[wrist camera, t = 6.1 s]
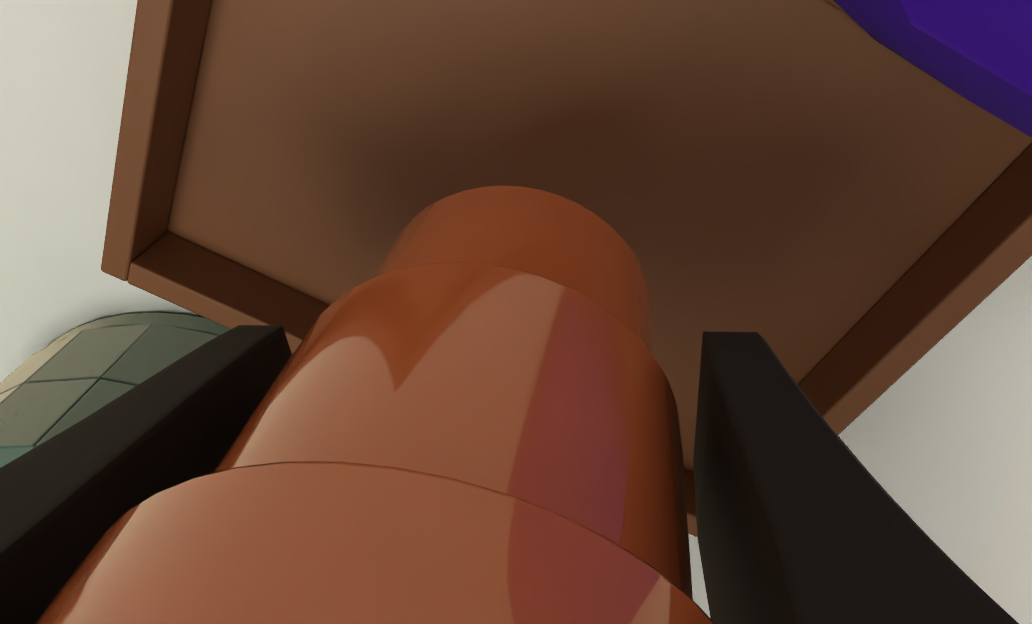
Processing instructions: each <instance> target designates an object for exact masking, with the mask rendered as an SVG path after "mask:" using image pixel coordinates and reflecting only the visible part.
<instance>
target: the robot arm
mask: <svg viewBox="0 0 1032 624" xmlns="http://www.w3.org/2000/svg"><path fill="white" fill-rule="evenodd" d="M291 356H292V353H291V350H290V347H289V344H288V340H287V337H286V334H285V331H284V328H283V326H273V325H238V326H236V327H234V328H232V329H230V330H228V331H227V332H225V333H223V334H221V335H219V336H217V337H215V338H214V339H212V340H210V341H208V342H207V343H205V344H203V345H202V346H200V347H198V348H197V349H195V350H193V351H192V352H190V353H188V354H187V355H185V356H183V357H182V358H180V359H179V360H177V361H175V362H174V363H172V364H171V365H169V366H167V367H166V368H164V369H163V370H161V371H159V372H158V373H156V374H155V375H153V376H151V377H150V378H148V379H147V380H145V381H143V382H142V383H140V384H139V385H137V386H135V387H134V388H132V389H131V390H129V391H127V392H126V393H124V394H123V395H121V396H119V397H118V398H116V399H115V400H113V401H111V402H110V403H108V404H107V405H105V406H103V407H102V408H100V409H99V410H97V411H95V412H94V413H92V414H91V415H89V416H87V417H86V418H84V419H83V420H81V421H79V422H78V423H76V424H74V425H73V426H71V427H69V428H68V429H66V430H64V431H62V432H61V433H59V434H57V435H56V436H54V437H52V438H50V439H49V440H47V441H45V442H44V443H42V444H40V445H39V446H37V447H35V448H33V449H32V450H30V451H28V452H27V453H25V454H23V455H21V456H20V457H18V458H16V459H15V460H13V461H11V462H9V463H8V464H6V465H4V466H3V467H1V468H0V624H35V623H36V622H37V620H38V619H39V618H40V616H41V615H42V614H43V612H44V611H45V610H46V609H47V607H48V606H49V605H50V603H51V602H52V601H53V599H54V598H55V597H56V596H57V594H58V593H59V592H60V590H61V589H62V588H63V586H64V585H65V584H66V583H67V581H68V580H69V579H70V577H71V576H72V575H73V573H74V572H75V571H76V569H77V568H78V567H79V566H80V564H81V563H82V562H83V560H84V559H85V558H86V556H87V555H88V554H89V553H90V551H91V550H92V549H93V547H94V546H95V545H96V543H97V542H98V541H99V540H100V538H101V537H102V536H103V534H104V533H105V532H106V531H107V530H108V529H109V528H110V527H111V526H112V525H113V524H114V523H115V522H116V521H117V520H118V519H119V518H121V517H122V516H123V515H124V514H125V513H126V512H127V511H129V510H130V509H132V508H134V507H135V506H137V505H138V504H140V503H142V502H143V501H145V500H147V499H148V498H150V497H151V496H153V495H155V494H156V493H158V492H160V491H162V490H164V489H167V488H169V487H172V486H174V485H177V484H179V483H182V482H184V481H187V480H189V479H192V478H195V477H197V476H202V475H206V474H210V473H213V472H214V471H215V469H216V468H217V466H218V465H219V463H220V462H221V460H222V459H223V457H224V456H225V454H226V453H227V451H228V450H229V448H230V447H231V445H232V444H233V442H234V441H235V439H236V438H237V436H238V435H239V433H240V432H241V430H242V429H243V427H244V426H245V424H246V423H247V421H248V420H249V418H250V417H251V415H252V414H253V412H254V411H255V409H256V408H257V406H258V405H259V403H260V402H261V400H262V399H263V397H264V396H265V394H266V393H267V391H268V390H269V388H270V387H271V385H272V384H273V382H274V381H275V379H276V378H277V376H278V375H279V373H280V372H281V370H282V369H283V368H284V366H285V365H286V363H287V362H288V360H289V359H290V357H291ZM693 464H694V484H695V504H696V521H697V537H698V543H699V550H700V556H701V562H702V568H703V574H704V580H705V586H706V593H707V599H708V605H709V611H710V617H711V620H712V621H713V622H714V623H715V624H1019V623H1017V622H1016V621H1015V620H1014V619H1013V618H1012V617H1011V616H1010V615H1009V614H1008V613H1007V612H1006V611H1005V610H1003V609H1002V608H1001V607H1000V606H999V605H998V604H997V603H996V602H995V601H994V600H993V599H992V598H990V597H989V596H988V595H987V594H986V593H985V592H984V591H983V590H982V589H981V588H980V587H979V586H978V585H977V584H976V583H975V582H974V581H973V580H971V579H970V578H969V577H968V576H967V575H966V574H965V573H964V572H963V571H962V570H961V569H960V568H959V567H958V566H957V565H956V564H955V563H954V562H953V561H952V560H951V559H950V558H949V557H948V556H947V555H946V554H945V553H944V552H943V551H942V550H941V549H940V548H939V547H938V546H937V545H936V544H935V543H934V542H933V541H932V540H931V539H930V538H929V537H928V536H927V535H926V533H925V532H924V531H923V530H922V529H921V528H920V527H919V526H918V525H917V524H916V523H915V522H914V521H913V520H912V519H911V518H910V517H909V516H908V514H907V513H906V512H905V511H904V510H903V509H902V508H901V507H900V506H899V505H898V504H897V503H896V502H895V501H894V500H893V499H892V497H891V496H890V495H889V494H888V493H887V492H886V491H885V490H884V489H883V487H882V486H881V485H880V484H879V483H878V482H877V481H876V480H875V479H874V477H873V476H872V475H871V474H870V473H869V472H868V471H867V469H866V468H865V467H864V466H863V465H862V464H861V462H860V461H859V460H858V459H857V458H856V456H855V455H854V454H853V453H852V452H851V451H850V449H849V448H848V447H847V446H846V445H845V443H844V442H843V441H842V440H841V439H840V438H839V436H838V435H837V434H836V433H835V432H834V430H833V429H832V428H831V427H830V426H829V424H828V423H827V422H826V421H825V419H824V418H823V417H822V416H821V414H820V413H819V412H818V411H817V409H816V408H815V407H814V405H813V404H812V403H811V402H810V400H809V399H808V398H807V396H806V395H805V394H804V392H803V391H802V390H801V389H800V387H799V386H798V385H797V383H796V382H795V381H794V379H793V378H792V377H791V375H790V374H789V372H788V371H787V370H786V368H785V367H784V366H783V364H782V363H781V361H780V360H779V359H778V357H777V356H776V354H775V353H774V352H773V350H772V349H771V347H770V346H769V344H768V343H767V341H766V340H765V339H764V338H763V337H762V336H761V335H760V334H759V333H758V332H712V331H703V335H702V348H701V362H700V375H699V389H698V402H697V415H696V429H695V442H694V455H693Z"/></svg>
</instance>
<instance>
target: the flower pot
mask: <svg viewBox="0 0 1032 624" xmlns="http://www.w3.org/2000/svg"><path fill="white" fill-rule="evenodd" d="M35 624H715V623H714V622H713V621H712V620H711V619H710V618H709V617H708V616H707V615H706V613H705V612H704V611H703V610H702V609H701V608H700V607H699V606H698V605H697V604H696V603H695V602H694V601H693V597H692V582H691V567H690V553H689V538H688V523H687V508H686V493H685V479H684V464H683V449H682V434H681V421H680V416H679V411H678V406H677V402H676V399H675V396H674V394H673V391H672V388H671V386H670V383H669V381H668V379H667V377H666V375H665V374H664V372H663V370H662V369H661V367H660V365H659V363H658V362H657V360H656V358H655V357H654V356H653V355H652V324H651V299H650V294H649V289H648V284H647V281H646V278H645V276H644V273H643V270H642V268H641V266H640V264H639V262H638V260H637V258H636V257H635V255H634V253H633V251H632V250H631V249H630V248H629V246H628V245H627V244H626V242H625V241H624V240H623V238H622V237H621V236H620V235H619V234H618V233H617V232H616V231H615V230H614V229H613V228H612V227H611V226H610V225H609V224H607V223H606V222H605V221H604V220H602V219H601V218H600V217H598V216H597V215H596V214H594V213H593V212H591V211H590V210H588V209H586V208H585V207H583V206H581V205H579V204H578V203H576V202H574V201H571V200H569V199H567V198H564V197H562V196H560V195H557V194H553V193H550V192H547V191H543V190H540V189H534V188H528V187H522V186H502V185H501V186H489V187H480V188H475V189H470V190H465V191H462V192H459V193H456V194H453V195H450V196H448V197H445V198H443V199H441V200H439V201H437V202H435V203H434V204H432V205H430V206H429V207H427V208H426V209H424V210H423V211H422V212H420V213H419V214H417V215H416V216H415V217H414V218H413V219H412V220H411V221H410V222H409V223H408V224H407V225H406V226H405V227H404V229H403V230H402V231H401V233H400V234H399V235H398V237H397V238H396V239H395V241H394V243H393V244H392V246H391V248H390V249H389V251H388V253H387V254H386V256H385V257H384V259H383V261H382V262H381V264H380V266H379V267H378V269H377V271H376V272H375V274H374V276H373V277H372V279H371V280H369V281H367V282H365V283H363V284H361V285H359V286H357V287H355V288H353V289H351V290H350V291H348V292H347V293H345V294H344V295H343V296H341V297H340V298H338V299H337V300H335V301H334V302H333V303H332V304H331V305H330V306H329V307H328V308H327V309H326V310H325V311H324V312H323V313H322V314H321V315H320V316H319V317H318V318H317V319H316V321H315V322H314V324H313V325H312V326H311V328H310V329H309V330H308V332H307V333H306V335H305V336H304V338H303V339H302V341H301V342H300V344H299V345H298V347H297V348H296V350H295V351H294V353H293V354H292V356H291V357H290V359H289V360H288V362H287V363H286V365H285V366H284V368H283V369H282V370H281V372H280V373H279V375H278V376H277V378H276V379H275V381H274V382H273V384H272V385H271V387H270V388H269V390H268V391H267V393H266V394H265V396H264V397H263V399H262V400H261V402H260V403H259V405H258V406H257V408H256V409H255V411H254V412H253V414H252V415H251V417H250V418H249V420H248V421H247V423H246V424H245V426H244V427H243V429H242V430H241V432H240V433H239V435H238V436H237V438H236V439H235V441H234V442H233V444H232V445H231V447H230V448H229V450H228V451H227V453H226V454H225V456H224V457H223V459H222V460H221V462H220V463H219V465H218V466H217V468H216V469H215V471H214V472H213V473H210V474H206V475H202V476H197V477H195V478H192V479H189V480H187V481H184V482H182V483H179V484H177V485H174V486H172V487H169V488H167V489H164V490H162V491H160V492H158V493H156V494H155V495H153V496H151V497H150V498H148V499H147V500H145V501H143V502H142V503H140V504H138V505H137V506H135V507H134V508H132V509H130V510H129V511H127V512H126V513H125V514H124V515H123V516H122V517H121V518H119V519H118V520H117V521H116V522H115V523H114V524H113V525H112V526H111V527H110V528H109V529H108V530H107V531H106V532H105V533H104V534H103V536H102V537H101V538H100V540H99V541H98V542H97V543H96V545H95V546H94V547H93V549H92V550H91V551H90V553H89V554H88V555H87V556H86V558H85V559H84V560H83V562H82V563H81V564H80V566H79V567H78V568H77V569H76V571H75V572H74V573H73V575H72V576H71V577H70V579H69V580H68V581H67V583H66V584H65V585H64V586H63V588H62V589H61V590H60V592H59V593H58V594H57V596H56V597H55V598H54V599H53V601H52V602H51V603H50V605H49V606H48V607H47V609H46V610H45V611H44V612H43V614H42V615H41V616H40V618H39V619H38V620H37V622H36V623H35Z"/></svg>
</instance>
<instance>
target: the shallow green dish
mask: <svg viewBox="0 0 1032 624" xmlns="http://www.w3.org/2000/svg"><path fill="white" fill-rule="evenodd" d="M228 330H230V328H228V327H225V326H223V325H221V324H219V323H216V322H214V321H212V320H210V319H207V318H204V317H198V316H193V315H187V314H173V313H159V312H153V313H133V314H123V315H118V316H113V317H108V318H102V319H98V320H96V321H93V322H90V323H87V324H84V325H82V326H79V327H76V328H74V329H73V330H71V331H69V332H67V333H66V334H64V335H62V336H60V337H59V338H57V339H56V340H55V341H54V342H52V343H51V344H50V345H49V346H48V347H47V348H45V349H43V350H41V351H39V352H37V353H35V354H33V355H32V356H31V357H30V358H29V359H28V360H26V361H25V362H24V363H23V364H22V365H21V366H19V367H18V368H17V369H16V370H15V371H14V372H12V373H11V374H10V375H9V376H8V377H7V378H5V379H4V380H3V381H2V382H1V383H0V468H1V467H3V466H4V465H6V464H8V463H9V462H11V461H13V460H15V459H16V458H18V457H20V456H21V455H23V454H25V453H27V452H28V451H30V450H32V449H33V448H35V447H37V446H39V445H40V444H42V443H44V442H45V441H47V440H49V439H50V438H52V437H54V436H56V435H57V434H59V433H61V432H62V431H64V430H66V429H68V428H69V427H71V426H73V425H74V424H76V423H78V422H79V421H81V420H83V419H84V418H86V417H87V416H89V415H91V414H92V413H94V412H95V411H97V410H99V409H100V408H102V407H103V406H105V405H107V404H108V403H110V402H111V401H113V400H115V399H116V398H118V397H119V396H121V395H123V394H124V393H126V392H127V391H129V390H131V389H132V388H134V387H135V386H137V385H139V384H140V383H142V382H143V381H145V380H147V379H148V378H150V377H151V376H153V375H155V374H156V373H158V372H159V371H161V370H163V369H164V368H166V367H167V366H169V365H171V364H172V363H174V362H175V361H177V360H179V359H180V358H182V357H183V356H185V355H187V354H188V353H190V352H192V351H193V350H195V349H197V348H198V347H200V346H202V345H203V344H205V343H207V342H208V341H210V340H212V339H214V338H215V337H217V336H219V335H221V334H223V333H225V332H227V331H228Z"/></svg>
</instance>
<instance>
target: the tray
mask: <svg viewBox="0 0 1032 624" xmlns="http://www.w3.org/2000/svg"><path fill="white" fill-rule="evenodd" d="M501 185H502V186H522V187H528V188H534V189H540V190H543V191H547V192H550V193H553V194H557V195H560V196H562V197H564V198H567V199H569V200H571V201H574V202H576V203H578V204H579V205H581V206H583V207H585V208H586V209H588V210H590V211H591V212H593V213H594V214H596V215H597V216H598V217H600V218H601V219H602V220H604V221H605V222H606V223H607V224H609V225H610V226H611V227H612V228H613V229H614V230H615V231H616V232H617V233H618V234H619V235H620V236H621V237H622V238H623V240H624V241H625V242H626V244H627V245H628V246H629V248H630V249H631V250H632V251H633V253H634V255H635V257H636V258H637V260H638V262H639V264H640V266H641V268H642V270H643V273H644V276H645V278H646V281H647V284H648V289H649V294H650V299H651V324H652V355H653V356H654V357H655V358H656V360H657V362H658V363H659V365H660V367H661V369H662V370H663V372H664V374H665V375H666V377H667V379H668V381H669V383H670V386H671V388H672V391H673V394H674V396H675V399H676V402H677V406H678V411H679V416H680V421H681V434H682V449H683V464H684V479H685V493H686V508H687V523H688V533H689V534H691V535H693V536H697V521H696V504H695V484H694V464H693V455H694V442H695V429H696V415H697V402H698V389H699V375H700V362H701V348H702V335H703V331H712V332H758V333H759V334H760V335H761V336H762V337H763V338H764V339H765V340H766V341H767V343H768V344H769V346H770V347H771V349H772V350H773V352H774V353H775V354H776V356H777V357H778V359H779V360H780V361H781V363H782V364H783V366H784V367H785V368H786V370H787V371H788V372H789V374H790V375H791V377H792V378H793V379H794V381H795V382H796V383H797V385H798V386H799V387H800V389H801V390H802V391H803V392H804V394H805V395H806V396H807V398H808V399H809V400H810V402H811V403H812V404H813V405H814V407H815V408H816V409H817V411H818V412H819V413H820V414H821V416H822V417H823V418H824V419H825V421H826V422H827V423H828V424H829V426H830V427H831V428H832V429H833V430H834V432H835V433H836V434H837V435H839V434H840V433H841V432H842V431H843V430H844V429H845V428H846V427H847V426H848V425H849V424H850V423H852V422H853V421H854V420H855V419H856V418H857V417H858V416H859V415H860V414H861V413H862V412H863V411H864V410H866V409H867V408H868V407H869V406H870V405H871V404H872V403H873V402H874V401H875V400H876V399H877V398H879V397H880V396H881V395H882V394H883V393H884V392H885V391H886V390H887V389H888V388H889V387H890V386H891V385H893V384H894V383H895V382H896V381H897V380H898V379H899V378H900V377H901V376H902V375H903V374H904V373H905V372H907V371H908V370H909V369H910V368H911V367H912V366H913V365H914V364H915V363H916V362H917V361H918V360H919V359H921V358H922V357H923V356H924V355H925V354H926V353H927V352H928V351H929V350H930V349H931V348H932V347H934V346H935V345H936V344H937V343H938V342H939V341H940V340H941V339H942V338H943V337H944V336H945V335H946V334H948V333H949V332H950V331H951V330H952V329H953V328H954V327H955V326H956V325H957V324H958V323H959V322H960V321H962V320H963V319H964V318H965V317H966V316H967V315H968V314H969V313H970V312H971V311H972V310H973V309H974V308H976V307H977V306H978V305H979V304H980V303H981V302H982V301H983V300H984V299H985V298H986V297H987V296H988V295H990V294H991V293H992V292H993V291H994V290H995V289H996V288H997V287H998V286H999V285H1000V284H1001V283H1003V282H1004V281H1005V280H1006V279H1007V278H1008V277H1009V276H1010V275H1011V274H1012V273H1013V272H1014V271H1015V270H1017V269H1018V268H1019V267H1020V266H1021V265H1022V264H1023V263H1024V262H1025V261H1026V260H1027V259H1028V258H1029V257H1031V256H1032V137H1030V136H1028V135H1026V134H1025V133H1023V132H1021V131H1020V130H1018V129H1016V128H1015V127H1013V126H1011V125H1009V124H1008V123H1006V122H1004V121H1003V120H1001V119H999V118H998V117H996V116H994V115H992V114H991V113H989V112H987V111H986V110H984V109H982V108H980V107H979V106H977V105H975V104H974V103H972V102H970V101H969V100H967V99H966V98H964V97H962V96H961V95H959V94H958V93H956V92H955V91H953V90H952V89H950V88H948V87H947V86H945V85H944V84H942V83H941V82H939V81H938V80H936V79H934V78H933V77H931V76H930V75H928V74H927V73H925V72H924V71H922V70H920V69H919V68H917V67H916V66H914V65H913V64H911V63H910V62H908V61H906V60H905V59H903V58H902V57H900V56H899V55H897V54H896V53H894V52H892V51H891V50H889V49H888V48H886V47H885V46H883V45H882V44H880V43H878V42H877V41H875V40H874V39H873V38H872V37H871V36H870V35H869V34H868V33H867V32H866V31H865V30H864V29H863V28H862V27H860V26H859V25H858V24H857V23H856V22H855V21H854V20H853V19H852V18H851V17H850V16H849V15H848V14H847V13H846V12H845V11H844V10H843V9H842V8H841V7H840V6H839V5H838V4H837V3H836V2H835V1H834V0H138V2H137V9H136V16H135V24H134V31H133V38H132V46H131V53H130V60H129V67H128V75H127V82H126V89H125V97H124V104H123V111H122V119H121V126H120V133H119V141H118V148H117V155H116V163H115V170H114V177H113V185H112V192H111V199H110V207H109V214H108V221H107V229H106V236H105V243H104V251H103V258H102V265H101V270H102V271H103V272H105V273H107V274H110V275H112V276H114V277H116V278H119V279H121V280H123V281H127V280H128V283H129V284H131V285H134V286H136V287H138V288H140V289H142V290H145V291H147V292H149V293H151V294H154V295H156V296H158V297H160V298H163V299H165V300H167V301H169V302H172V303H174V304H176V305H178V306H181V307H183V308H185V309H187V310H190V311H192V312H194V313H196V314H198V315H201V316H203V317H205V318H207V319H210V320H212V321H214V322H216V323H219V324H221V325H223V326H225V327H228V328H230V329H232V328H234V327H236V326H238V325H273V326H283V328H284V331H285V334H286V337H287V340H288V344H289V347H290V350H291V353H292V354H293V353H294V351H295V350H296V348H297V347H298V345H299V344H300V342H301V341H302V339H303V338H304V336H305V335H306V333H307V332H308V330H309V329H310V328H311V326H312V325H313V324H314V322H315V321H316V319H317V318H318V317H319V316H320V315H321V314H322V313H323V312H324V311H325V310H326V309H327V308H328V307H329V306H330V305H331V304H332V303H333V302H334V301H335V300H337V299H338V298H340V297H341V296H343V295H344V294H345V293H347V292H348V291H350V290H351V289H353V288H355V287H357V286H359V285H361V284H363V283H365V282H367V281H369V280H371V279H372V277H373V276H374V274H375V272H376V271H377V269H378V267H379V266H380V264H381V262H382V261H383V259H384V257H385V256H386V254H387V253H388V251H389V249H390V248H391V246H392V244H393V243H394V241H395V239H396V238H397V237H398V235H399V234H400V233H401V231H402V230H403V229H404V227H405V226H406V225H407V224H408V223H409V222H410V221H411V220H412V219H413V218H414V217H415V216H416V215H417V214H419V213H420V212H422V211H423V210H424V209H426V208H427V207H429V206H430V205H432V204H434V203H435V202H437V201H439V200H441V199H443V198H445V197H448V196H450V195H453V194H456V193H459V192H462V191H465V190H470V189H475V188H480V187H489V186H501Z"/></svg>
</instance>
